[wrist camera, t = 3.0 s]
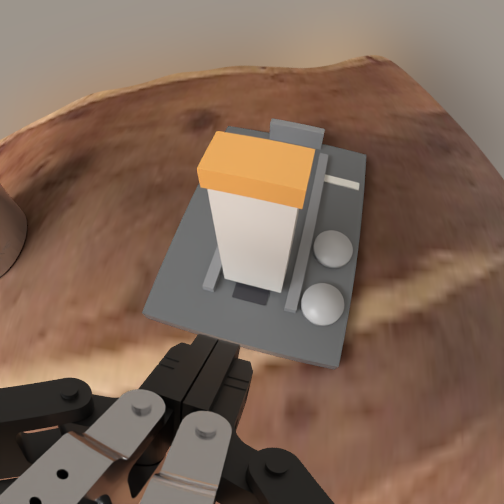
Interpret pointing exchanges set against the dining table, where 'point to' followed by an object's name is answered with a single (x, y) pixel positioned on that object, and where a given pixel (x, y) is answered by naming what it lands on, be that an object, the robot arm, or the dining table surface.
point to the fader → (255, 204)
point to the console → (298, 271)
